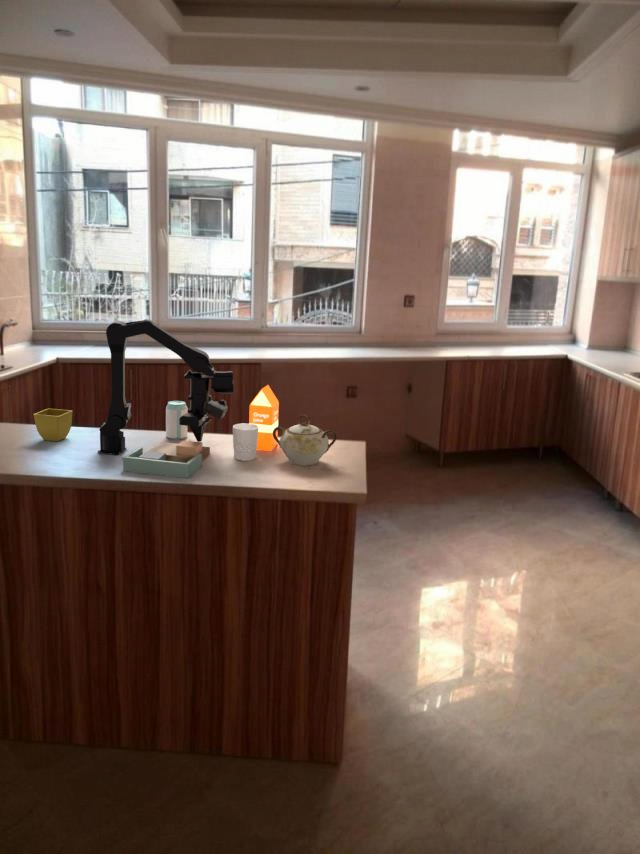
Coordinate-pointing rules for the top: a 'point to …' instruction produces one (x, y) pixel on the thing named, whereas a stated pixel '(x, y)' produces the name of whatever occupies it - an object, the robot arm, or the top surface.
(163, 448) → the walnut board
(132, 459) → the box
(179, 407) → the can
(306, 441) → the sugar bowl
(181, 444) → the terracotta tile
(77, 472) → the top surface
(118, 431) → the robot arm
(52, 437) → the flower pot
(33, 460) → the top surface
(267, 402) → the orange juice
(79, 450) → the top surface
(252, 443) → the white cup
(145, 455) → the slate tile
